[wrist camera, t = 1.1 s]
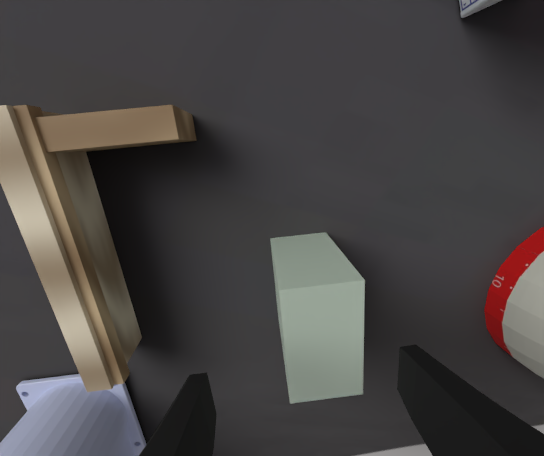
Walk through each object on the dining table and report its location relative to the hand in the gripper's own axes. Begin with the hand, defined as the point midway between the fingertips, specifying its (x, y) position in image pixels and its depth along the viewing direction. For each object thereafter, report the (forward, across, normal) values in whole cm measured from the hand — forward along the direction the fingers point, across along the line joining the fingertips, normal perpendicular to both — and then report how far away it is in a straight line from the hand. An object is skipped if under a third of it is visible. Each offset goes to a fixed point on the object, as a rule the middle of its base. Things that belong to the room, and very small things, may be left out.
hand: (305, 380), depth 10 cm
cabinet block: (+10, -1, +1) cm, 10 cm away
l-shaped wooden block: (+10, +9, -3) cm, 13 cm away
